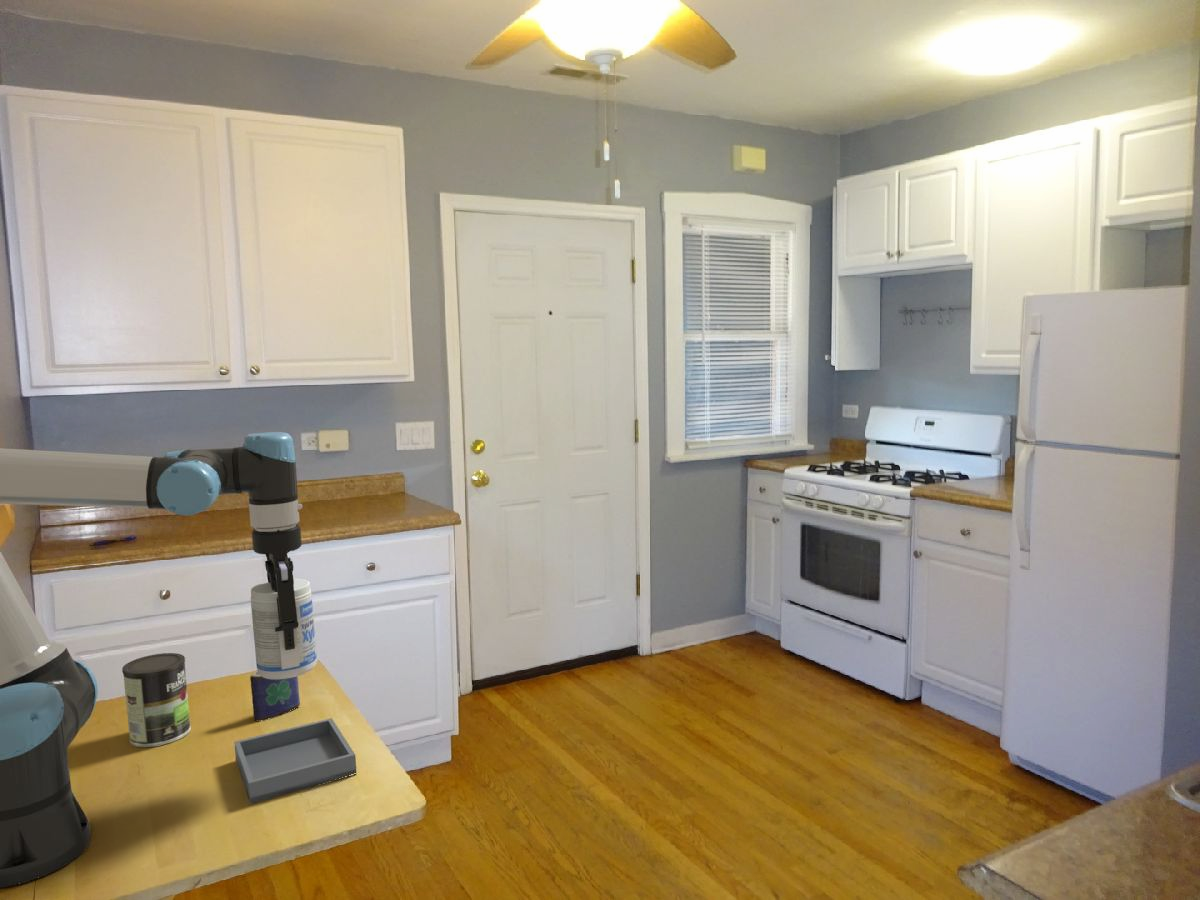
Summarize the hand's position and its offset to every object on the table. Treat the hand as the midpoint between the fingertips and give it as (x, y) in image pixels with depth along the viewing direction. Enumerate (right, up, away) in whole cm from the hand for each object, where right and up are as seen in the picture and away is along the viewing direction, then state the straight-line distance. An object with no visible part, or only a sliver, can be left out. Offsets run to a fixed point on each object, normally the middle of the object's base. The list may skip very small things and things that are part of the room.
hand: (286, 656), depth 140 cm
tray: (+1, -20, +3) cm, 20 cm away
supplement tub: (0, -3, 0) cm, 3 cm away
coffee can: (-30, -19, +16) cm, 39 cm away
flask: (-11, -17, +24) cm, 32 cm away
